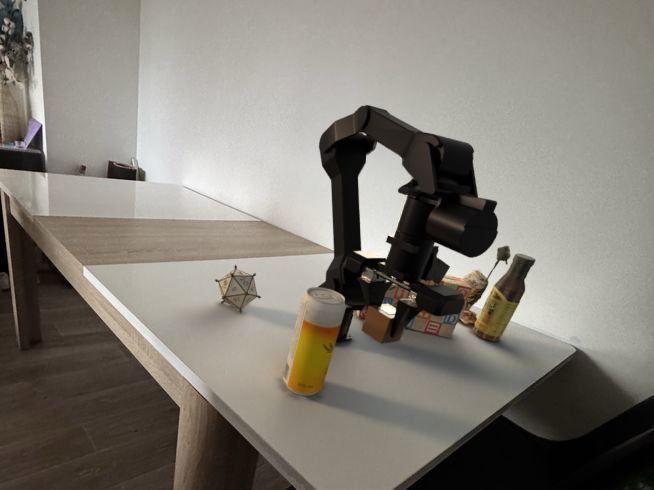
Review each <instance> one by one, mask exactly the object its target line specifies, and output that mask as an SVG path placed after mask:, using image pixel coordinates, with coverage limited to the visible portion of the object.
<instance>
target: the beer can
mask: <svg viewBox="0 0 654 490" xmlns="http://www.w3.org/2000/svg"><path fill="white" fill-rule="evenodd" d="M300 300H301V301H300V305H299V308H298V312H297V316H296V317H297V318H296V322H295V326H294V331H293V333H292V338H291V343H290V346H289V351H288V354H287V359H286V363H285V369H284V372H283V377H282V379H283V382H284V383H285V385H286V387H287V388H288V390H289V391H291V392H292V393H294V394H296V395H299V396H303V397H304V396H305V397H308V396H314V395H315V394H317V393H319V392H320V391H321V390H323V387H324V384H325V381H326V378H327V374H328V371H329V367H330V364H331V360H332V357H333V353H334V350H335V347H336V340H337V336H338V333H339V330H340V326H341V323H342V319H343V316H344V313H345V309H346V306H345V298H344V297H343V296H342V295H341V294H340V293H338V292H336V291H333V290H330V289H326V288H321V287H318V286H313V287H308V288H307V289H306V292H305V293H304V294H303V295H302V296H301V299H300Z"/></svg>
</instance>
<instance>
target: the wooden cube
mask: <svg viewBox="0 0 654 490" xmlns="http://www.w3.org/2000/svg"><path fill="white" fill-rule="evenodd" d="M395 312H396V308H395V307H393V306H391V305H389V304H379V305H371V306H369V307H368V310H367V314H366V317H365V319H364V320H363V323H362V326H361V329H360V332H362V333H364V334H365V335H366V336H368V337H369V338H371V339H373V340H374V341H375V342H377V343H378V344H379V345H385V344H390V343H395V342H400V341H401V339H402V336H403V333H404V330H405V329H404V330H403V331H402V332H401V333H400V334H399V335H398V336H397V337H396V338H392V337H391V330H392V325H393V321H394V316H395Z"/></svg>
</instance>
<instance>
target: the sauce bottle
mask: <svg viewBox="0 0 654 490" xmlns="http://www.w3.org/2000/svg"><path fill="white" fill-rule="evenodd" d="M535 263H536V258H534V257H532V256H529V255H528V254H527V255H526V254H524V253H518V252H517V253H515V254H514V256H513V258H512V262H511V263H510V266H509V267H508V269H507V270H506V272H505V273H504V274H503V275H502V276H501V277H500V278H499V279H498V280H497V281H496V282H495V283H494V285H493V286H492V288H491V290H490V292H489V294H488V295H487V298H486V300H485V302H484V304H483V306H482V308H481V310H480V313H479V314H478V316H477V320H476V323H475V324H474V327H473V328H472V333H474V334H475V335H476V336H477V337H478V338H480V339H483V340H486V341H490V342H498V341H500V339H501V337H502V336H503V334H504V333H505V331H506V329H507V327H508V325H509V323H510V321H511V320H512V318H513V316H514V314H515V312H516V310H517V308H518V306H519V304H520V303H521V300H522V298H523V296H524V294H525V292H526V281H525V280H526V278H527V277H528V274H529V272H530V270H531V268H532V267H533V266H534V265H535Z"/></svg>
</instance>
